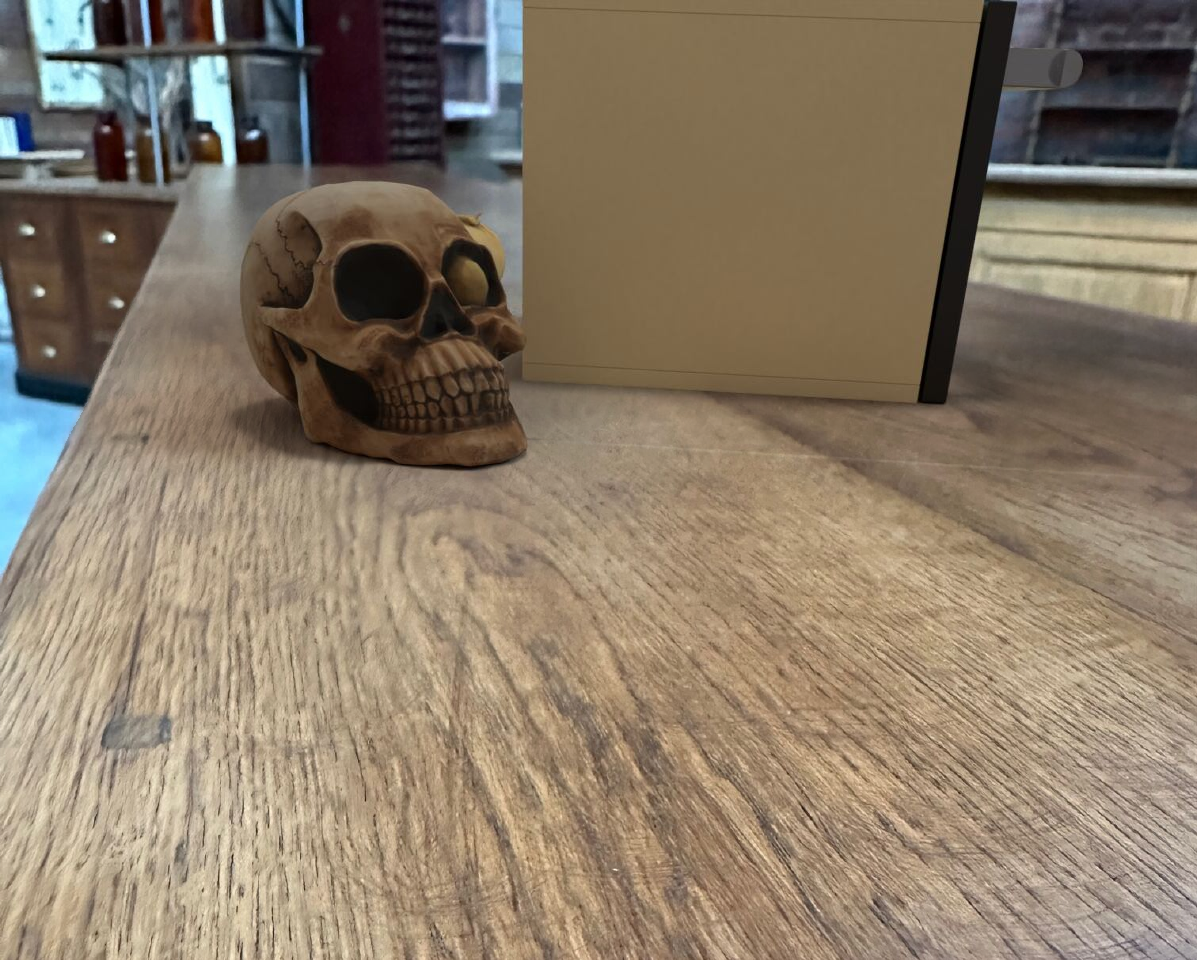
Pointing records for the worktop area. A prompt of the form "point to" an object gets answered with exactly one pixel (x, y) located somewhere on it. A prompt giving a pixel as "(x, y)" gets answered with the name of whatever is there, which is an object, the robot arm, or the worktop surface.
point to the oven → (739, 190)
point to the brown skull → (383, 324)
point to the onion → (485, 239)
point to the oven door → (981, 171)
